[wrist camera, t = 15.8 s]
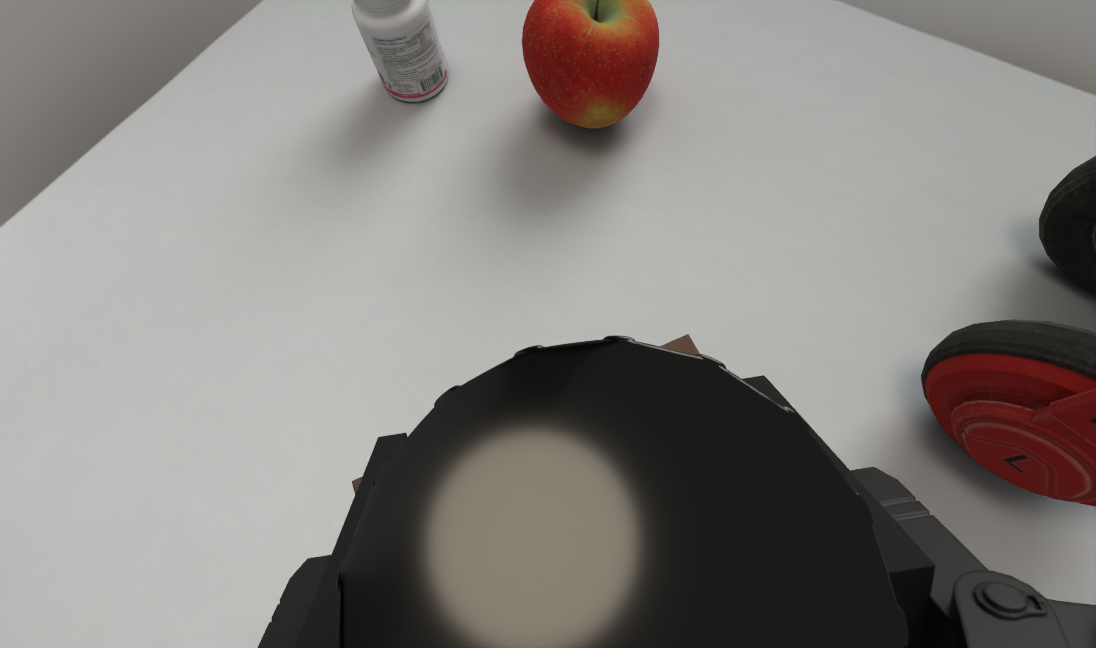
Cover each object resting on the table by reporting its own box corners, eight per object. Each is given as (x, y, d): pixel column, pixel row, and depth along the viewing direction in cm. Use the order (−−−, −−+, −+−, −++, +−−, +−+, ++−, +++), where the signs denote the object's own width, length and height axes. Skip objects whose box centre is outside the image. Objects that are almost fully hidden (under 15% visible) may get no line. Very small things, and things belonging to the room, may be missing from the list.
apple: (570, 48, 40) (566, -102, 31) (670, 90, 38) (698, -58, 29) (508, 124, 38) (483, -13, 29) (611, 173, 36) (620, 43, 27)
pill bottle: (384, 58, 41) (337, -58, 33) (448, 50, 41) (416, -68, 33) (383, 108, 39) (333, -2, 31) (450, 100, 39) (416, -13, 31)
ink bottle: (807, 578, 17) (1202, 623, 6) (618, 832, 15) (705, 1582, 4) (577, 373, 20) (567, 157, 9) (394, 562, 18) (95, 577, 7)
